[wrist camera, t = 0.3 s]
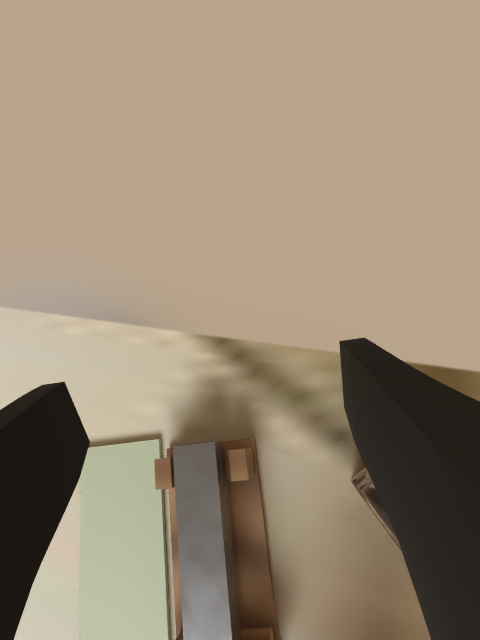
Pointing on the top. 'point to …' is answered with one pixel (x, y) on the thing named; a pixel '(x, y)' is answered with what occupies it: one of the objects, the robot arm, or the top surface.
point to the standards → (234, 539)
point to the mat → (123, 545)
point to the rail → (205, 544)
